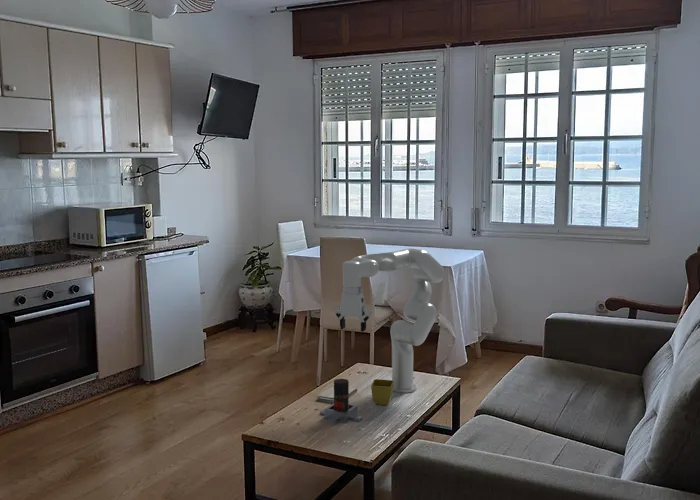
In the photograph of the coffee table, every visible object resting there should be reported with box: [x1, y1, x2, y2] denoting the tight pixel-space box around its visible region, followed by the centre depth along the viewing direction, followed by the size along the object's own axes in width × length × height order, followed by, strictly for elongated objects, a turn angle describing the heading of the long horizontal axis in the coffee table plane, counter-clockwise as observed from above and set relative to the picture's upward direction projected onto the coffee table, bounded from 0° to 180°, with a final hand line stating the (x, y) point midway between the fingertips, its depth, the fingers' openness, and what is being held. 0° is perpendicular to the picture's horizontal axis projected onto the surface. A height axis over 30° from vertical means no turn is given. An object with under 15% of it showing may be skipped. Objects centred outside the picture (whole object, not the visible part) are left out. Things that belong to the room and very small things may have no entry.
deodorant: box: [333, 378, 350, 412], centre depth 269 cm, size 6×6×15 cm
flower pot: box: [370, 378, 394, 406], centre depth 285 cm, size 9×9×9 cm
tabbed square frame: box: [320, 403, 363, 426], centre depth 270 cm, size 18×18×4 cm
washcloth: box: [316, 385, 358, 404], centre depth 294 cm, size 12×18×3 cm, turn 155°
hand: (353, 329), depth 282 cm, fingers open, 9 cm apart
